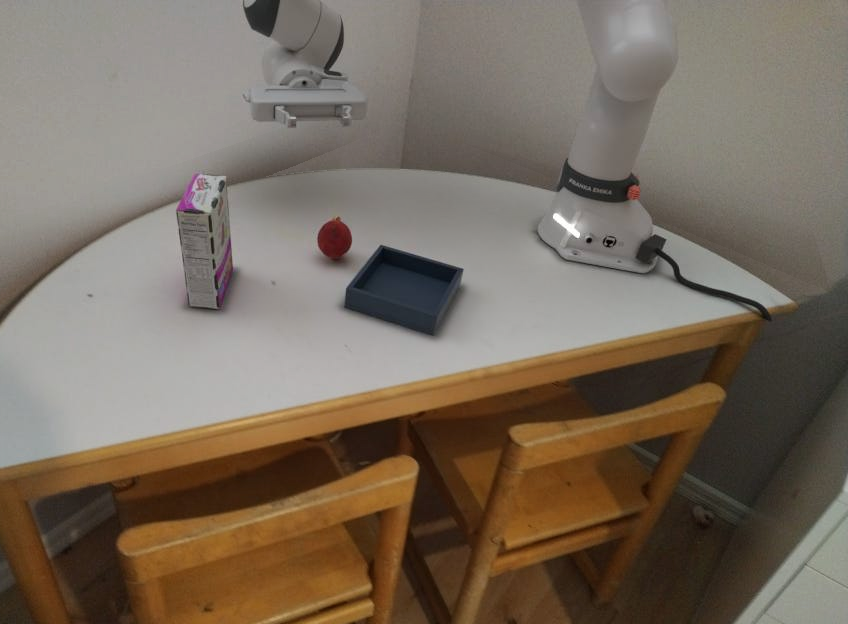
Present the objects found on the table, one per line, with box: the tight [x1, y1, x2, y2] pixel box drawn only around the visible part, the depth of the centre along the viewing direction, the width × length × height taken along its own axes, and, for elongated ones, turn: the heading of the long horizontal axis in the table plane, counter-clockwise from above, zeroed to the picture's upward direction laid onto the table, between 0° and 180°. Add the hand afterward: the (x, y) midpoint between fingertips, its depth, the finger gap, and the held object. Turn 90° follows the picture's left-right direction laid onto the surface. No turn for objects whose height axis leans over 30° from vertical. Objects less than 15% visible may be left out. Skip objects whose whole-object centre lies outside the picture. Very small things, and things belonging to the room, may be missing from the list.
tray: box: [344, 244, 464, 336], centre depth 101 cm, size 15×15×4 cm
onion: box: [316, 214, 353, 260], centre depth 106 cm, size 6×6×8 cm
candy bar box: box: [175, 173, 234, 310], centre depth 94 cm, size 11×5×16 cm, turn 179°
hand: (320, 123), depth 105 cm, fingers open, 8 cm apart
